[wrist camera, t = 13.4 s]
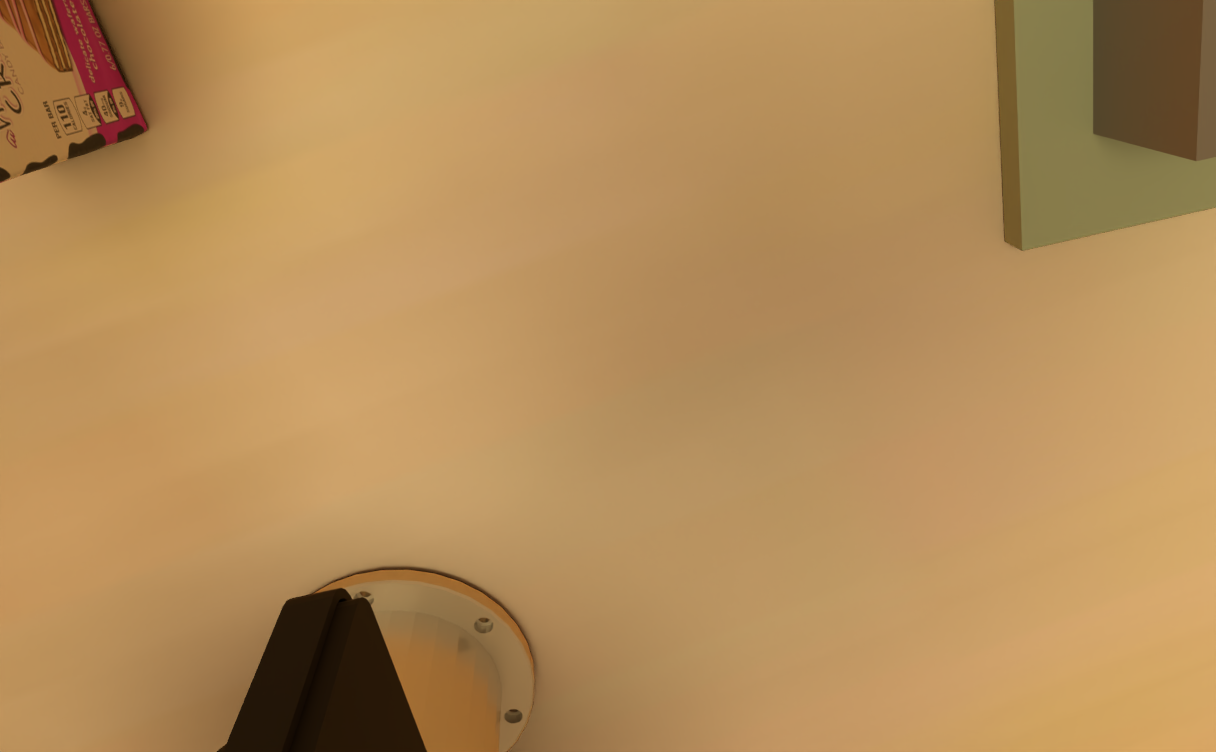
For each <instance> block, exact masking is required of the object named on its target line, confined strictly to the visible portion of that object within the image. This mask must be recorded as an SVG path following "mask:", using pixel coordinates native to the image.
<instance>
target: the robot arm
mask: <svg viewBox="0 0 1216 752" xmlns="http://www.w3.org/2000/svg"><path fill="white" fill-rule="evenodd" d="M534 685H535V679H534V663H533V659H532V656H531V653H530V649H529V646H528V643H527V641H526V639H525V638H524V636H523V634H522V632H521V631H520V629H519V627H518V626H517V624H516V623H515V622H514V621H513V619H512V618H511V617H510V616H509V615H508V614H507V613H506V612H505V611H504V609H503V608H502V607H501V606H499V605H498V604H497V603H495V602H494V601H493V600H491V599H490V598H489V597H487V596H486V595H485V594H483V593H482V592H480V591H478V590H476V589H474V588H472V587H470V586H468V585H466V584H464V583H462V582H460V581H457V580H454V579H451V578H447V577H444V576H441V575H438V574H435V573H428V572H421V571H414V570H379V571H374V572H368V573H362V574H357V575H353V576H350V577H347V578H345V579H342V580H339V581H336V582H333V583H331V584H329V585H327V586H326V587H324V588H322V589H320V590H319V591H317V592H315V593H313V594H310V595H305V596H301V597H296V598H292V599H289V600H287V601H286V603H285V604H284V606H283V608H282V610H281V613H280V615H279V617H278V620H277V622H276V625H275V627H274V630H273V632H272V635H271V637H270V639H269V642H268V644H267V647H266V649H265V652H264V654H263V656H262V659H261V661H260V664H259V666H258V669H257V671H256V673H255V676H254V678H253V681H252V683H251V686H250V688H249V690H248V693H247V695H246V698H245V700H244V703H243V705H242V707H241V710H240V712H239V715H238V717H237V720H236V722H235V724H234V727H233V729H232V732H231V734H230V737H229V739H228V742H227V744H226V745H225V746H223V747H222V748H221V749H219V750H218V751H217V752H508V750H509V749H510V748H511V747H512V746H513V745H514V744H515V743H516V741H517V740H518V739H519V737H520V735H521V733H522V732H523V730H524V728H525V726H526V725H527V723H528V720H529V717H530V713H531V710H532V707H533V703H534Z"/></svg>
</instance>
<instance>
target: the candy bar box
mask: <svg viewBox="0 0 1216 752" xmlns="http://www.w3.org/2000/svg"><path fill="white" fill-rule="evenodd" d="M145 131H147V126H146V124H145V122H144V120H143V117H142V115H141V113H140V111H139V108H138V106H137V104H136V102H135V100H134V98H133V96H132V94H131V92H130V89H129V87H128V85H127V83H126V81H125V79H124V76H123V74H122V72H121V69H120V67H119V65H118V63H117V61H116V58H115V56H114V54H113V52H112V50H111V48H110V46H109V44H108V42H107V39H106V37H105V35H104V33H103V31H102V29H101V26H100V24H99V22H98V20H97V18H96V16H95V14H94V12H93V10H92V7H91V5H90V3H89V0H0V183H1V182H4V181H7V180H9V179H12V178H15V177H18V176H21V175H24V174H27V173H30V172H33V171H36V170H39V169H42V168H45V167H48V166H51V165H54V164H57V163H60V162H63V161H65V160H68V159H71V158H74V157H77V156H80V155H84V154H87V153H89V152H92V151H95V150H98V149H100V148H103V147H106V146H109V145H112V144H115V143H118V142H121V141H124V140H128V139H131V138H134V137H136V136H138V135H140V134H142V133H144V132H145Z"/></svg>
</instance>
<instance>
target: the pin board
mask: <svg viewBox="0 0 1216 752" xmlns="http://www.w3.org/2000/svg"><path fill="white" fill-rule="evenodd" d="M995 19H996V43H997V67H998V91H999V115H1000V139H1001V163H1002V188H1003V212H1004V236H1005V242H1007V243H1009V244H1010V245H1012V246H1014V247H1016V248H1018V249H1020V250H1021V251H1024V250H1029V249H1033V248H1037V247H1042V246H1046V245H1051V244H1055V243H1060V242H1064V241H1069V240H1073V239H1078V238H1082V237H1087V236H1091V235H1096V234H1100V233H1105V232H1109V231H1113V230H1118V229H1122V228H1127V227H1131V226H1136V225H1140V224H1145V223H1149V222H1154V221H1158V220H1163V219H1167V218H1172V217H1176V216H1181V215H1185V214H1190V213H1194V212H1198V211H1203V210H1207V209H1212V208H1216V157H1214V158H1209V159H1205V160H1200V161H1193V160H1189V159H1186V158H1182V157H1178V156H1174V155H1171V154H1167V153H1163V152H1159V151H1156V150H1152V149H1148V148H1144V147H1141V146H1137V145H1133V144H1129V143H1126V142H1122V141H1118V140H1114V139H1111V138H1107V137H1103V136H1099V135H1095V134H1093V0H995Z"/></svg>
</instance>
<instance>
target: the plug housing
mask: <svg viewBox="0 0 1216 752" xmlns="http://www.w3.org/2000/svg"><path fill="white" fill-rule="evenodd" d="M1093 134H1095V135H1099V136H1103V137H1107V138H1111V139H1114V140H1118V141H1122V142H1126V143H1129V144H1133V145H1137V146H1141V147H1144V148H1148V149H1152V150H1156V151H1159V152H1163V153H1167V154H1171V155H1174V156H1178V157H1182V158H1186V159H1189V160H1193V161H1200V160H1205V159H1209V158H1214V157H1216V0H1093Z"/></svg>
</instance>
